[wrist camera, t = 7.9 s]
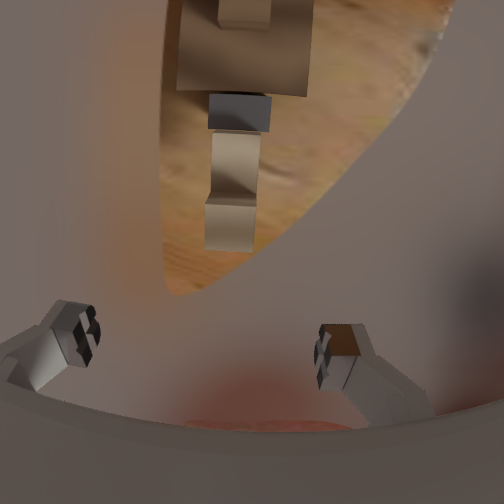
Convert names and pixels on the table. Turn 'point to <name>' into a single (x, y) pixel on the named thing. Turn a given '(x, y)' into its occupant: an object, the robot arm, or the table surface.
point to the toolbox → (239, 112)
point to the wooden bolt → (232, 191)
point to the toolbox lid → (245, 46)
